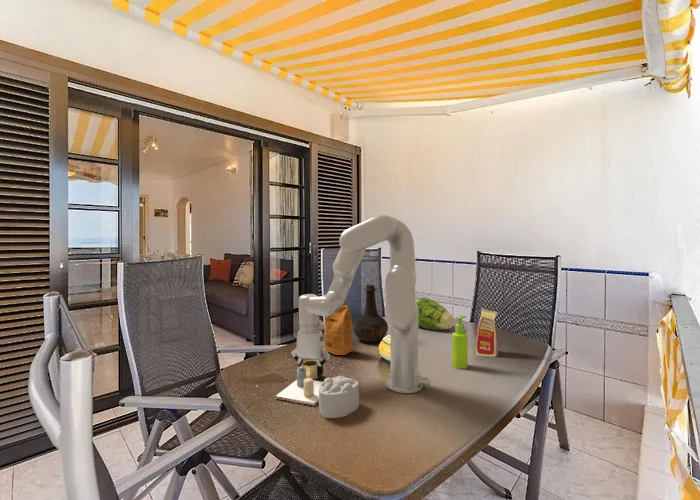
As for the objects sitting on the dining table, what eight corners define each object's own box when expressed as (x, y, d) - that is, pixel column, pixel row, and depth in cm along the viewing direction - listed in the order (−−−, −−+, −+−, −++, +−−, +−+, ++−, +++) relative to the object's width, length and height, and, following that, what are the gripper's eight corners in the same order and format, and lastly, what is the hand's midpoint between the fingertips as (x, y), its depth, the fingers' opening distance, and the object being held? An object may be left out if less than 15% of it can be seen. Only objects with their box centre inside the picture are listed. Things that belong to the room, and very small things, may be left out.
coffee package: (334, 347, 166) (333, 301, 166) (355, 351, 159) (354, 303, 158) (320, 353, 158) (319, 304, 157) (342, 358, 151) (341, 307, 150)
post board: (333, 386, 122) (333, 365, 122) (314, 406, 108) (313, 382, 108) (298, 381, 127) (298, 361, 127) (275, 399, 113) (275, 376, 113)
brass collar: (323, 374, 133) (322, 361, 133) (315, 381, 127) (314, 367, 127) (307, 371, 136) (306, 359, 135) (298, 378, 129) (298, 365, 129)
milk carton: (475, 355, 153) (475, 309, 152) (476, 348, 161) (476, 305, 161) (498, 357, 149) (498, 311, 149) (498, 350, 158) (498, 306, 157)
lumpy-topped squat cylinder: (363, 404, 109) (362, 377, 109) (338, 423, 99) (337, 393, 98) (336, 396, 115) (336, 370, 115) (310, 413, 105) (310, 384, 104)
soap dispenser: (471, 365, 141) (471, 316, 140) (463, 370, 136) (463, 319, 135) (457, 361, 145) (457, 313, 144) (449, 366, 140) (449, 316, 139)
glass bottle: (365, 333, 190) (364, 281, 189) (394, 338, 179) (394, 284, 178) (345, 341, 175) (345, 285, 174) (376, 347, 165) (375, 288, 164)
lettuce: (448, 343, 189) (441, 326, 179) (412, 328, 205) (404, 311, 195) (462, 320, 196) (456, 302, 187) (426, 307, 212) (419, 290, 203)
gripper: (334, 326, 131) (336, 373, 132) (294, 323, 137) (295, 368, 138) (326, 332, 124) (327, 381, 125) (284, 328, 130) (285, 375, 131)
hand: (311, 374), depth 131 cm, fingers closed on brass collar, 6 cm apart
